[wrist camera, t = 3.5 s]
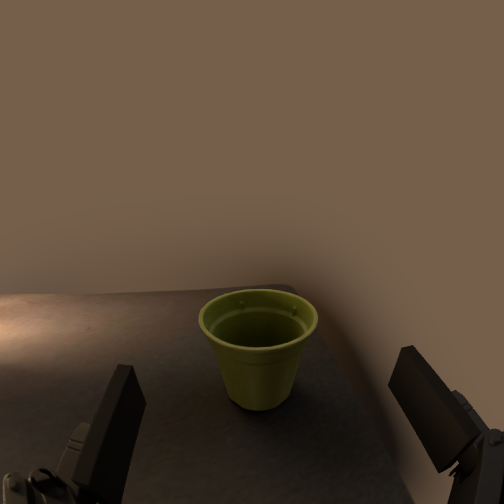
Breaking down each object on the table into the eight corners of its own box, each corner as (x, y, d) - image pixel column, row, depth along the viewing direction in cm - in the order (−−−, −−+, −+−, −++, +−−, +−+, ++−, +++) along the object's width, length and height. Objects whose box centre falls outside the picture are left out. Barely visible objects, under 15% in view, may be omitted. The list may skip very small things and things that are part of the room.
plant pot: (212, 360, 28) (204, 289, 26) (297, 355, 29) (303, 285, 26) (206, 426, 19) (191, 351, 17) (317, 419, 20) (333, 342, 17)
